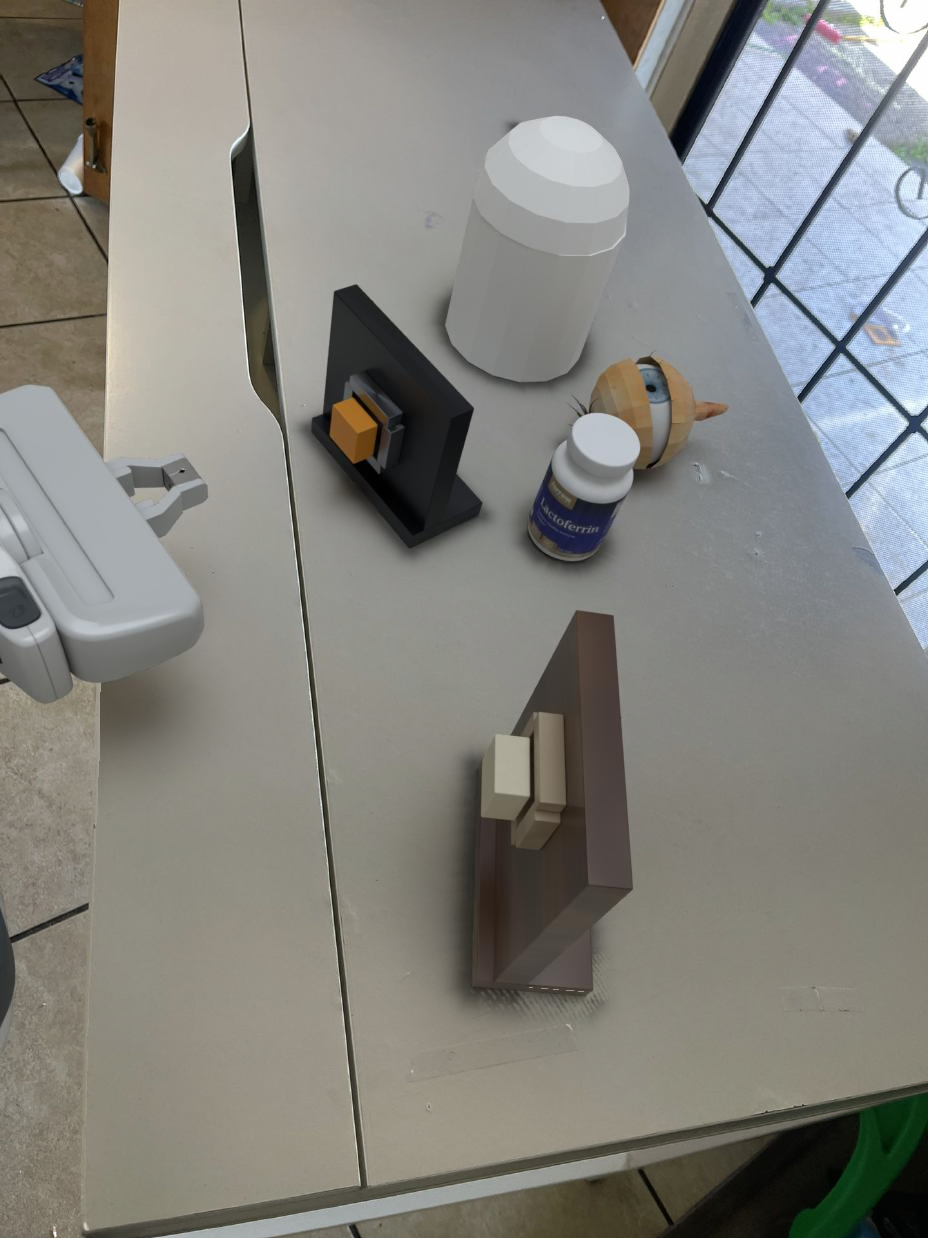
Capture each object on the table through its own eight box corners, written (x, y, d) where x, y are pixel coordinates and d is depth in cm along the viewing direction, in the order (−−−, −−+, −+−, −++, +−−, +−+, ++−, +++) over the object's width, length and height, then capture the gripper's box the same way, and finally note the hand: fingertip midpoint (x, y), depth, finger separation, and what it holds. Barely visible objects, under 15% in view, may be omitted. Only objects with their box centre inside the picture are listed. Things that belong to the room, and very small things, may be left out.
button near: (480, 817, 47) (494, 792, 44) (481, 760, 48) (495, 733, 46) (514, 821, 47) (530, 797, 44) (515, 763, 49) (530, 737, 46)
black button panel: (406, 550, 71) (436, 424, 60) (307, 431, 76) (317, 295, 65) (479, 514, 74) (519, 389, 63) (379, 403, 79) (401, 269, 68)
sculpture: (554, 348, 75) (730, 315, 76) (546, 414, 84) (705, 384, 85) (583, 444, 72) (767, 408, 73) (571, 502, 80) (737, 470, 81)
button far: (353, 464, 68) (357, 433, 65) (329, 436, 69) (332, 404, 66) (373, 455, 68) (378, 424, 66) (349, 428, 69) (353, 396, 67)
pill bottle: (515, 545, 73) (553, 448, 64) (538, 492, 77) (576, 394, 68) (590, 576, 73) (637, 483, 64) (609, 521, 77) (657, 426, 68)
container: (481, 393, 82) (539, 185, 66) (421, 297, 88) (460, 84, 72) (605, 369, 88) (687, 171, 71) (540, 280, 93) (602, 77, 77)
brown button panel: (466, 986, 54) (557, 882, 38) (472, 767, 62) (550, 605, 46) (585, 996, 55) (723, 898, 39) (577, 779, 63) (689, 625, 47)
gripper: (-89, 477, 57) (122, 406, 63) (59, 728, 50) (281, 619, 56) (-123, 401, 52) (111, 333, 58) (38, 669, 45) (284, 557, 51)
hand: (196, 475), depth 57 cm, fingers closed
